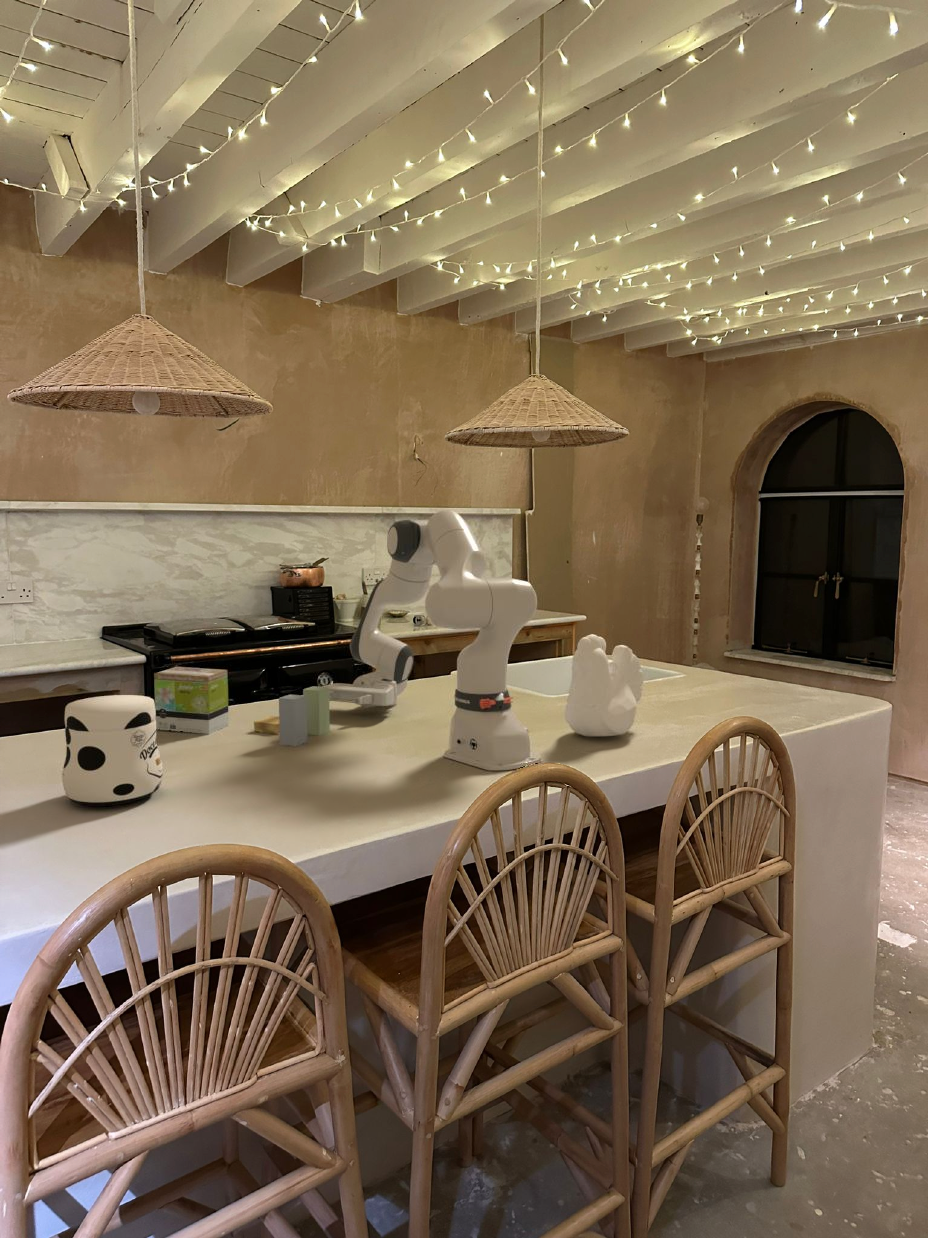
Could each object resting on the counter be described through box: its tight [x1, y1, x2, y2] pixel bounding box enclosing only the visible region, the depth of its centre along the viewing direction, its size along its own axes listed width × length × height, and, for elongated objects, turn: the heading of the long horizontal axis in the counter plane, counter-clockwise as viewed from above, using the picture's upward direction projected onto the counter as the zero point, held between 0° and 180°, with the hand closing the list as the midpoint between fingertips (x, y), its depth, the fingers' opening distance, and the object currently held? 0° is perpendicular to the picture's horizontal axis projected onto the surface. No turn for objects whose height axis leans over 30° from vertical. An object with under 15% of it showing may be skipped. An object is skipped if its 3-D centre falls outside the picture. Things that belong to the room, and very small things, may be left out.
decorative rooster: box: [563, 633, 644, 737], centre depth 208 cm, size 25×16×25 cm, turn 120°
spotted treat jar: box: [61, 694, 164, 807], centre depth 159 cm, size 17×17×18 cm
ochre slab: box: [253, 715, 280, 735], centre depth 213 cm, size 7×7×2 cm
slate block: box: [278, 693, 308, 747], centre depth 199 cm, size 4×4×11 cm
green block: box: [302, 685, 331, 737], centre depth 209 cm, size 4×4×11 cm
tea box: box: [153, 666, 229, 735], centre depth 213 cm, size 15×10×15 cm, turn 76°
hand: (341, 699), depth 220 cm, fingers open, 8 cm apart
